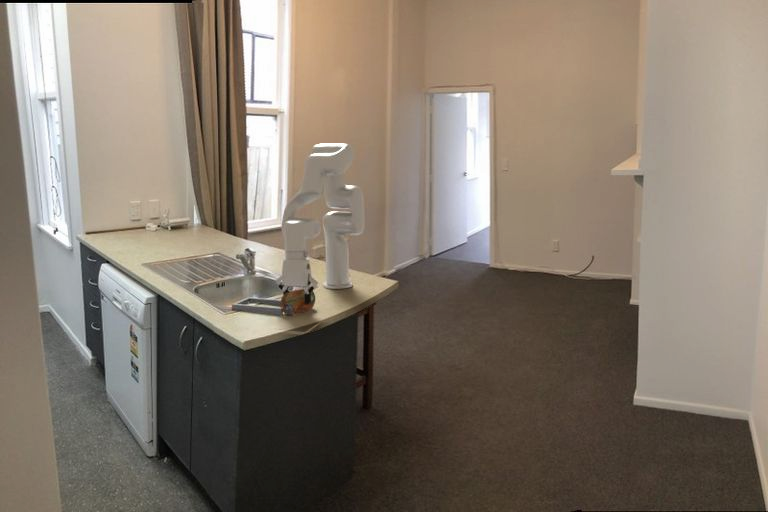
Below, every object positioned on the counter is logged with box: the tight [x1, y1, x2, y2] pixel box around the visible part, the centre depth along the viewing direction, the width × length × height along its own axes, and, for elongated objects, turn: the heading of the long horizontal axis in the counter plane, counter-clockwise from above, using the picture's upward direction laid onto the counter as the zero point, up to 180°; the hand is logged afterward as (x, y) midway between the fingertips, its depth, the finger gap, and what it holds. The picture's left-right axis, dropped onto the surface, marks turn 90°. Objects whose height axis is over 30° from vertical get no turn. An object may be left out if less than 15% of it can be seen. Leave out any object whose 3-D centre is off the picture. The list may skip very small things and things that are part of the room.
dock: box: [231, 296, 284, 316], centre depth 216 cm, size 11×20×2 cm, turn 72°
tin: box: [280, 287, 316, 316], centre depth 212 cm, size 15×3×8 cm, turn 141°
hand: (297, 302), depth 212 cm, fingers open, 7 cm apart
